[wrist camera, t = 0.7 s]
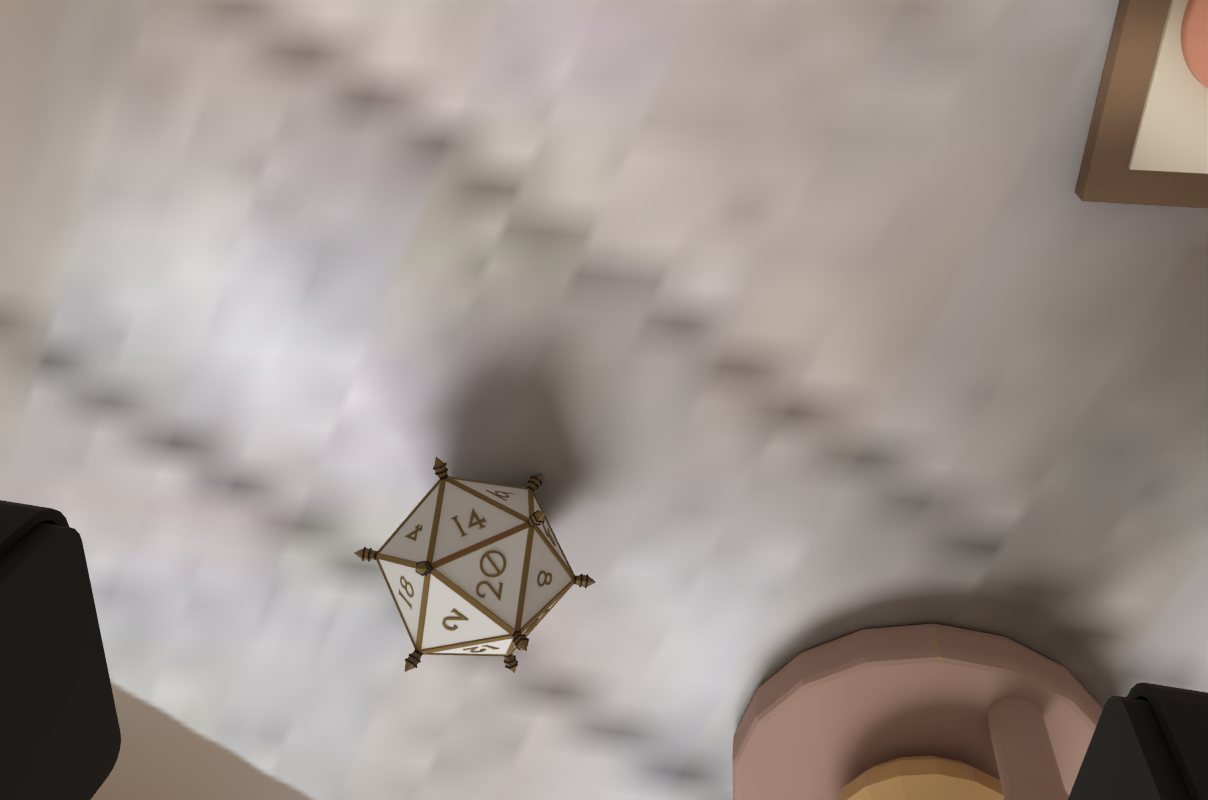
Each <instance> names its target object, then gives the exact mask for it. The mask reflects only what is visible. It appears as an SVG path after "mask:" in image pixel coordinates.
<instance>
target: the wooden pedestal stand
mask: <svg viewBox="0 0 1208 800" xmlns="http://www.w3.org/2000/svg"><path fill="white" fill-rule="evenodd" d="M1102 710H1103V708H1102V707H1101V706H1100V705H1099V704H1098V703H1097V701H1096V700H1095V699H1094V698H1093V697H1092V696H1091V695H1090V694H1089V693H1088V692H1087V691H1086V690H1085V688H1084V687H1083V686H1082V685H1081V684H1080V683H1079V682H1078V681H1077V680H1076V679H1075V678H1074V677H1073V675H1072V674H1071V673H1070V672H1069V671H1068V670H1067V669H1066V668H1065V667H1063V666H1062V665H1060V664H1058V663H1056V662H1054V661H1052V660H1050V659H1048V658H1046V657H1044V656H1042V655H1040V654H1038V653H1036V652H1034V651H1032V650H1030V649H1028V648H1026V647H1024V646H1022V645H1020V644H1018V643H1017V642H1015V641H1013V640H1011V639H1009V638H1007V637H1004V636H999V635H993V634H988V633H983V632H977V631H972V630H966V629H961V628H956V627H950V626H945V625H939V624H922V625H910V626H898V627H885V628H873V629H862V630H860V631H857V632H854V633H852V634H849V635H846V636H844V637H841V638H838V639H836V640H833V641H831V642H828V643H825V644H823V645H820V646H817V647H815V648H812V649H809V650H807V651H804V652H801V653H800V654H799V655H798V656H796V657H795V658H794V659H793V660H792V661H790V662H789V663H788V664H787V665H786V666H784V667H783V668H782V669H781V670H779V671H778V672H777V673H776V674H775V675H773V676H772V677H771V678H770V679H769V680H767V681H766V682H765V683H764V684H763V685H761V686H760V687H759V688H758V689H757V690H756V692H755V694H754V696H753V698H752V700H751V702H750V704H749V706H748V708H747V710H746V712H745V714H744V716H743V718H742V720H741V722H740V724H739V726H738V728H737V730H736V732H735V735H734V743H733V800H1068V798H1069V795H1070V793H1071V790H1072V787H1073V785H1074V782H1075V780H1076V777H1077V775H1078V772H1079V769H1080V767H1081V764H1082V762H1083V759H1084V757H1085V754H1086V751H1087V749H1088V746H1089V744H1090V741H1091V739H1092V736H1093V733H1094V731H1095V728H1096V726H1097V723H1098V721H1099V718H1100V715H1101V713H1102Z"/></svg>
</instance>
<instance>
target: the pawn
mask: <svg viewBox="0 0 1208 800" xmlns="http://www.w3.org/2000/svg"><path fill="white" fill-rule="evenodd" d="M1181 48H1182V52H1183V56H1184V59H1185V62H1186V64H1187V66H1188V68H1189V70H1190V71H1191V73H1192V74H1193V76H1194V77H1195V78H1196V79H1197V80H1198V81H1199V82H1200V83H1201V84H1202V85H1203V86H1205V87H1206V88H1208V0H1189V2H1188V4H1187V7H1186V10H1185V13H1184V16H1183V21H1182V26H1181Z"/></svg>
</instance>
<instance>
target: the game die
mask: <svg viewBox="0 0 1208 800" xmlns="http://www.w3.org/2000/svg"><path fill="white" fill-rule="evenodd" d="M434 469H435V471H436V473H435V474H436V475H438V477H439V478H440V479H439V480H438V482H437V483H436V484H435V485H434V486H433V487H432V489H431V490H430V491H429V492H428V493H427V494H426V496H425V497H424V498H423V499H422V500H421V501H420V503H419V504H418V505H417V506H416V507H415V508H414V510H413V511H412V512H411V513H410V514H409V515H408V517H407V518H406V519H405V520H404V521H403V522H402V524H401V525H400V526H399V527H398V528H397V529H396V531H395V532H394V533H393V534H392V535H391V536H390V538H389V539H388V540H387V541H386V542H385V544H384V545H383V546H382V547H381V548H380V549H379V551H374V550H372V548H370V549H366V547H364V549H361V550H359V551H357V552H355V554H356V555H357V556H358V557H360V558H361V559H362V561H364V560H368V561H370V560H377V563H378V565H379V567H380V570H381V572H382V574H383V576H384V579H385V581H386V583H387V586H388V588H389V590H390V593H391V595H392V597H393V599H394V602H395V604H396V606H397V609H398V611H399V613H400V616H401V618H402V620H403V622H404V625H405V627H406V629H407V632H408V634H409V636H410V639H411V641H412V643H413V645H414V648H415V651H414V652H413V653H412V654H409V657H408V658H407V659H405V661H406V665H405V672H406V671H408V670H410V669H413V668H417V664H418V662H419V663H420V662H421V661H420V658H421V656H422V655H423V654H431V655H476V656H504V657H505V660H504V663H505V664H506V666H505V667H506V668H508V669H510V670H511V671H513V672H514V673H515V670H516V666H517V665H518V661H516V657H515V656H513V654H512V653H513V651H514V650H515V649H516V648H518V649H519V650H525V651H527V646H528V641H529V639H528V638H526V637H527V636H528V635H529V633H530V632H531V631H532V630H533V629H534V628H535V627H536V626H537V624H538V623H539V622H540V621H541V620H542V619H543V618H544V617H545V615H546V614H547V613H548V612H549V611H550V610H551V609H552V608H553V606H554V605H555V604H556V603H557V602H558V601H559V600H560V599H561V598H562V596H563V595H564V594H565V593H566V592H567V591H568V590H569V589H570V587H571V586H572V585H573V584H577V585H579V587H581V586H584V587H585V588H587V586H589V585H591V584H593V583H595V581H594V580H593V579H591V578H590V577H589V576H588V574H587V575H583V574H581V575H579V576H575V575H574V573H573V571H572V569H571V567H570V565H569V563H568V561H567V559H566V557H565V555H564V553H563V551H562V549H561V547H560V545H559V543H558V541H557V539H556V537H555V534H554V532H553V530H552V528H551V526H550V524H549V522H548V520H547V518H546V516H545V512H543V510H542V508H541V506H540V504H539V502H538V500H537V498H536V496H535V494H534V492H533V491H534V490H536V489H538V487H539V485H541V484H542V481H541V477H542V473H541V474H538V475H536V476H531V480H530V481H528V483H529V484H528V487H526V488H525V487H518V486H511V485H504V484H497V483H490V482H483V481H476V480H469V479H462V478H455V477H449V476H448V475H447V470H448V468H446V463H444V462H442V461H441V460H440V459H438V458H437V457H436V460H435V466H434V467H433V470H434Z"/></svg>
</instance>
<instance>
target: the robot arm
mask: <svg viewBox="0 0 1208 800" xmlns="http://www.w3.org/2000/svg"><path fill="white" fill-rule="evenodd" d="M120 744H121V735H120V728H119V724H118V718H117V713H116V709H115V703H114V699H113V693H112V688H111V683H110V678H109V673H108V668H107V663H106V658H105V653H104V648H103V643H102V638H101V633H100V628H99V623H98V618H97V613H96V608H95V603H94V598H93V593H92V588H91V583H90V578H89V574H88V569H87V564H86V559H85V554H84V549H83V544H82V540H81V537H80V534H79V533H78V532H77V531H76V530H75V529H73V528H70V527H69V525H68V522H67V520H66V518H65V517H64V515H63V514H62V513H61V512H60V511H57V510H54V509H51V508H45V507H39V506H32V505H26V504H20V503H14V502H7V501H1V500H0V800H90V799H91V798H92V797H93V795H94V794H95V793H96V791H97V790H98V789H99V787H100V786H101V785H102V784H103V782H104V781H105V780H106V778H107V777H108V776H109V774H110V772H111V771H112V769H113V767H114V765H115V763H116V760H117V757H118V754H119V750H120ZM1068 800H1208V693H1206V692H1199V691H1193V690H1187V689H1181V688H1174V687H1168V686H1162V685H1156V684H1149V683H1137V684H1136V685H1135V686H1134V687H1133V688H1132V689H1131V690H1130V692H1129V694H1128V696H1127V698H1126V697H1120V696H1112V697H1111V698H1109V699H1108V700H1107V702H1106V704H1105V706H1104V708H1103V710H1102V713H1101V715H1100V718H1099V721H1098V723H1097V726H1096V728H1095V731H1094V733H1093V736H1092V739H1091V741H1090V744H1089V746H1088V749H1087V751H1086V754H1085V757H1084V759H1083V762H1082V764H1081V767H1080V769H1079V772H1078V775H1077V777H1076V780H1075V782H1074V785H1073V787H1072V790H1071V793H1070V795H1069V798H1068Z"/></svg>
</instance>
